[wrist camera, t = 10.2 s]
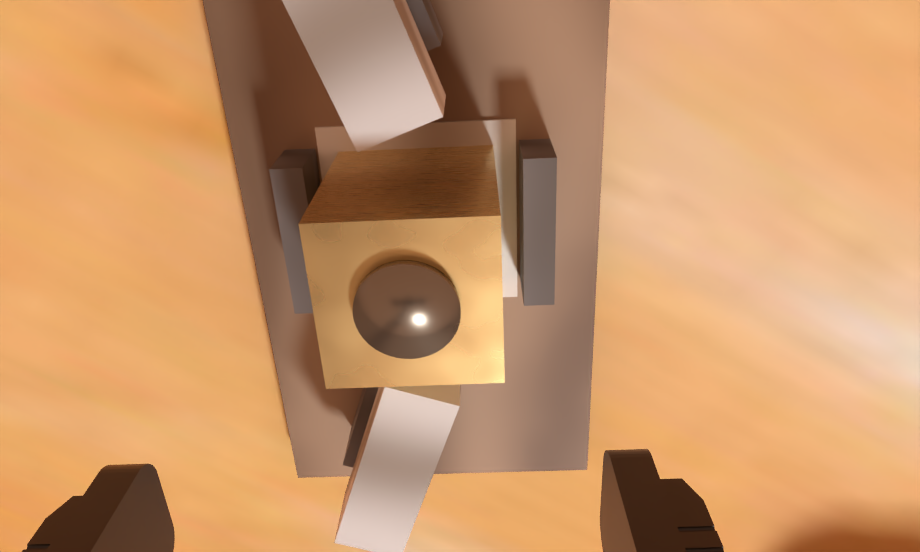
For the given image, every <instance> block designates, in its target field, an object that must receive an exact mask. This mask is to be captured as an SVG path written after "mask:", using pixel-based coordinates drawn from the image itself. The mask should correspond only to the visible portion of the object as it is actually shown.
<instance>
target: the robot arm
mask: <svg viewBox="0 0 920 552" xmlns="http://www.w3.org/2000/svg"><path fill="white" fill-rule="evenodd" d="M600 529H601V540H602V547H603V552H724V551H723V545H722V543H721V540H720V538H719V536H718V533H717V531H715V529H714V524H713V522H712V519H711V517H710V515H709V512H708V510H707V508H706V505H705V503H704V500H703V499H702V498H701V497H700V496H699V495H698V494H697V493H696V492H695V491H694V490H693V489H692V488H691V487H690V486H689V485H688V484H687V483H686V482H685V481H684V480H683V479H660V478H659V475H658V472H657V469H656V467H655V464H654V461H653V458H652V456H651V453H650V452H649V450H648V449H636V450H606V451H605V453H604V459H603V474H602V491H601V508H600ZM173 549H174V527H173V523H172V520H171V516H170V513H169V510H168V507H167V503H166V500H165V497H164V493H163V490H162V487H161V484H160V480H159V477H158V474H157V471H156V469H155V467H154V466H153V465H151V464H128V465H107V466H105V467H104V468H102V469H101V470H100V472H99V473H98V475H97V476H96V477H95V479H94V480H93V482H92V483H91V485H90V486H89V488H88V489H87V491H86V492H85V494H84V495H83V496H73V497H71V498H70V499H69V500H68V501H67V502H65V503H64V504H63V505H62V506H61V507H59V508H58V509H57V510H56V511H54V512H53V513H52V514H51V515H50V516H48V517H47V518H46V519H45V520H44V522H43V523H42V524H41V526H40V527H39V529H38V530H37V532H36V533H35V534H34V536H33V537H32V539H31V540H30V541H29V543H28V544H27V549H26V550H23V551H22V552H173Z"/></svg>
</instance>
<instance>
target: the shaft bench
mask: <svg viewBox="0 0 920 552" xmlns="http://www.w3.org/2000/svg"><path fill="white" fill-rule="evenodd" d="M203 4H204V9H205V14H206V19H207V24H208V29H209V34H210V39H211V44H212V49H213V54H214V59H215V64H216V69H217V74H218V79H219V84H220V89H221V94H222V99H223V104H224V109H225V114H226V119H227V124H228V129H229V134H230V139H231V144H232V149H233V154H234V159H235V164H236V169H237V174H238V179H239V184H240V189H241V194H242V199H243V204H244V209H245V214H246V219H247V225H248V230H249V235H250V240H251V245H252V250H253V255H254V260H255V265H256V270H257V275H258V280H259V285H260V290H261V295H262V300H263V305H264V310H265V315H266V320H267V325H268V330H269V335H270V340H271V345H272V350H273V355H274V360H275V365H276V370H277V375H278V380H279V385H280V390H281V395H282V400H283V405H284V410H285V415H286V420H287V425H288V430H289V435H290V440H291V445H292V450H293V455H294V460H295V465H296V470H297V475H298V478H302V477H338V476H350V479H349V482H348V485H347V489H346V492H345V496H344V501H343V505H342V510H341V515H340V519H339V524H338V529H337V533H336V538H335V543H337V544H342V545H346V546H350V547H355V548H359V549H364V550H368V551H373V552H403V551H404V548H405V546H406V543H407V541H408V538H409V535H410V533H411V530H412V528H413V525H414V523H415V520H416V517H417V515H418V512H419V510H420V507H421V505H422V502H423V499H424V497H425V494H426V492H427V489H428V487H429V484H430V481H431V479H432V476H433V474H448V473H484V472H521V471H557V470H587V461H588V441H589V420H590V399H591V379H592V358H593V337H594V317H595V296H596V275H597V255H598V234H599V213H600V193H601V172H602V151H603V131H604V110H605V89H606V69H607V48H608V27H609V7H610V0H203ZM479 145H493V149H494V158H495V167H496V176H497V185H498V194H499V204H500V213H501V244H502V286H503V328H504V370H505V383H487V384H457V385H428V386H398V387H368V388H338V389H326V386H325V380H324V374H323V368H322V362H321V356H320V350H319V344H318V338H317V332H316V326H315V320H314V314H313V308H312V302H311V296H310V290H309V284H308V278H307V272H306V266H305V260H304V254H303V248H302V242H301V236H300V230H299V222H300V220H301V218H302V217H303V215H304V213H305V211H306V209H307V208H308V206H309V204H310V202H311V200H312V199H313V197H314V195H315V193H316V192H317V190H318V188H319V186H320V184H321V183H322V181H323V179H324V177H325V175H326V174H327V172H328V170H329V168H330V166H331V165H332V163H333V161H334V159H335V157H336V156H337V154H338V152H345V151H357V152H360V151H367V150H390V149H412V148H434V147H457V146H479Z"/></svg>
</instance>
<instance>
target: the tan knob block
mask: <svg viewBox="0 0 920 552" xmlns="http://www.w3.org/2000/svg"><path fill="white" fill-rule="evenodd" d="M299 230H300V236H301V242H302V248H303V254H304V260H305V266H306V272H307V278H308V284H309V290H310V296H311V302H312V308H313V314H314V320H315V326H316V332H317V338H318V344H319V350H320V356H321V362H322V368H323V374H324V380H325V386H326V389H338V388H368V387H398V386H428V385H457V384H487V383H505V370H504V328H503V286H502V244H501V213H500V204H499V194H498V185H497V176H496V167H495V158H494V149H493V145H479V146H457V147H434V148H412V149H390V150H367V151H360V152H357V151H345V152H338V154H337V156H336V157H335V159H334V161H333V163H332V165H331V166H330V168H329V170H328V172H327V174H326V175H325V177H324V179H323V181H322V183H321V184H320V186H319V188H318V190H317V192H316V193H315V195H314V197H313V199H312V200H311V202H310V204H309V206H308V208H307V209H306V211H305V213H304V215H303V217H302V218H301V220H300V222H299Z"/></svg>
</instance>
